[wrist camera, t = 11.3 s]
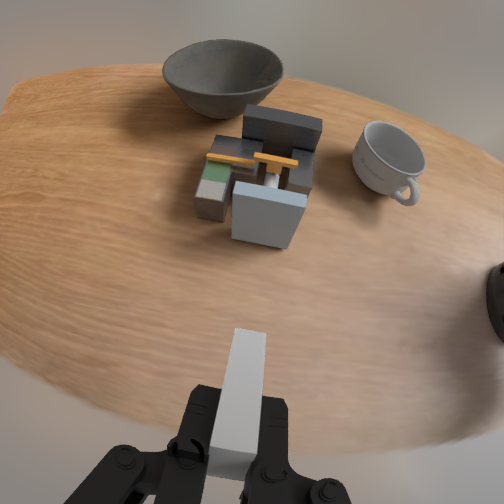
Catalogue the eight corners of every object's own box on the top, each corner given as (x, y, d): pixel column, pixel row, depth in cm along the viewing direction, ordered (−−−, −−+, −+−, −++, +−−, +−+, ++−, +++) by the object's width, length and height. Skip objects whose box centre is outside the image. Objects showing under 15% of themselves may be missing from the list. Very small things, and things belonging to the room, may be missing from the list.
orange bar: (294, 172, 35) (298, 160, 33) (293, 177, 35) (297, 165, 33) (208, 156, 35) (207, 144, 33) (206, 161, 35) (205, 148, 33)
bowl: (251, 159, 42) (257, 109, 33) (149, 126, 44) (138, 80, 35) (290, 96, 49) (299, 53, 40) (203, 72, 51) (201, 32, 42)
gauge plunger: (293, 196, 39) (311, 148, 30) (286, 249, 36) (305, 207, 27) (243, 186, 39) (248, 135, 30) (231, 238, 36) (232, 193, 27)
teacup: (341, 146, 45) (357, 112, 38) (396, 157, 46) (416, 128, 38) (354, 218, 40) (377, 187, 32) (414, 225, 40) (442, 199, 33)
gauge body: (307, 161, 43) (322, 119, 35) (299, 237, 38) (318, 200, 29) (221, 144, 43) (221, 100, 35) (197, 217, 38) (190, 176, 29)
